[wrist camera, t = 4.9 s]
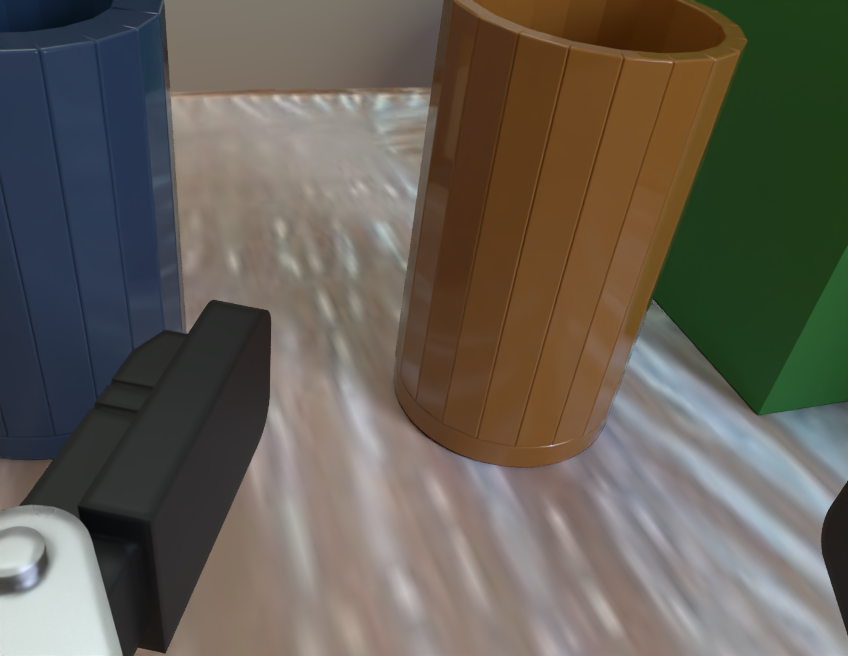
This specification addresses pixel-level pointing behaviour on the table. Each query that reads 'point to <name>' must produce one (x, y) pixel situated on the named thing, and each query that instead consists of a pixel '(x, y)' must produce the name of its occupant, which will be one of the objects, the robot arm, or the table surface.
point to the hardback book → (772, 214)
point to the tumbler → (550, 211)
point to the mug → (81, 208)
